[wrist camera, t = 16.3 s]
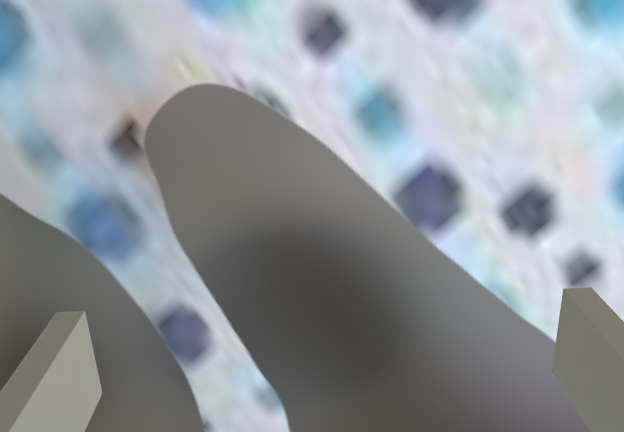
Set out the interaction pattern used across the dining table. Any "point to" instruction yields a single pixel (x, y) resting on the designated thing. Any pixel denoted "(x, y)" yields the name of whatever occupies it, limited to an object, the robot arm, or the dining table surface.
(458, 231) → the dining table surface
